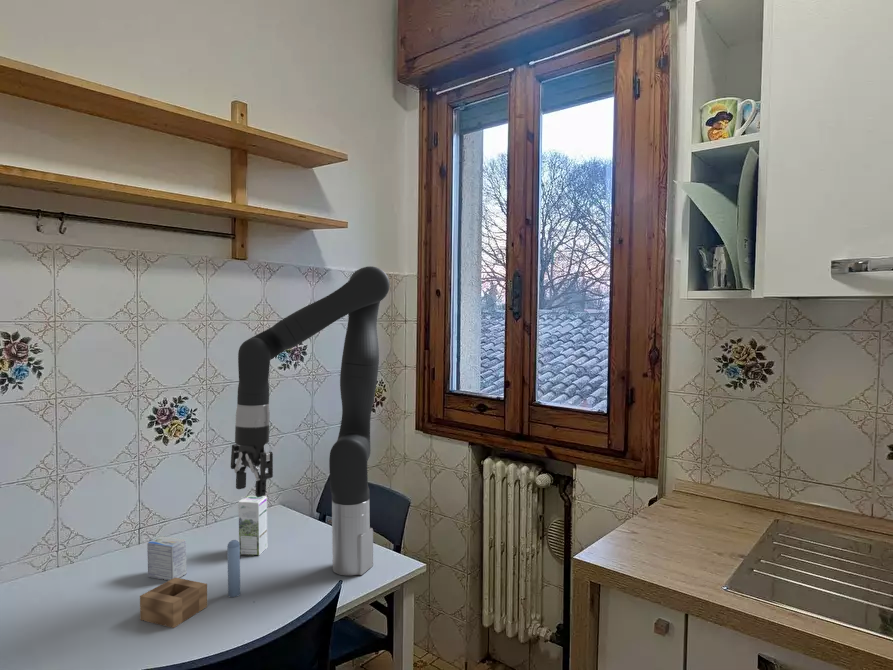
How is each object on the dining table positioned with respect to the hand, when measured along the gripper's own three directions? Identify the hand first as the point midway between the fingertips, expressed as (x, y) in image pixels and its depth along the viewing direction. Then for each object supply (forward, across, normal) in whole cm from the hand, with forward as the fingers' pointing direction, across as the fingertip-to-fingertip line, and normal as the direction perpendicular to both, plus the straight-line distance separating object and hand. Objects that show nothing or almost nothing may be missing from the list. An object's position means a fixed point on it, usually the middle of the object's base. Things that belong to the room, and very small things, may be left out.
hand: (250, 492), depth 131 cm
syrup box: (+22, +16, -11) cm, 29 cm away
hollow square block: (+22, 0, +17) cm, 28 cm away
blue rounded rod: (+22, -2, +4) cm, 22 cm away
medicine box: (+23, +19, +10) cm, 31 cm away
